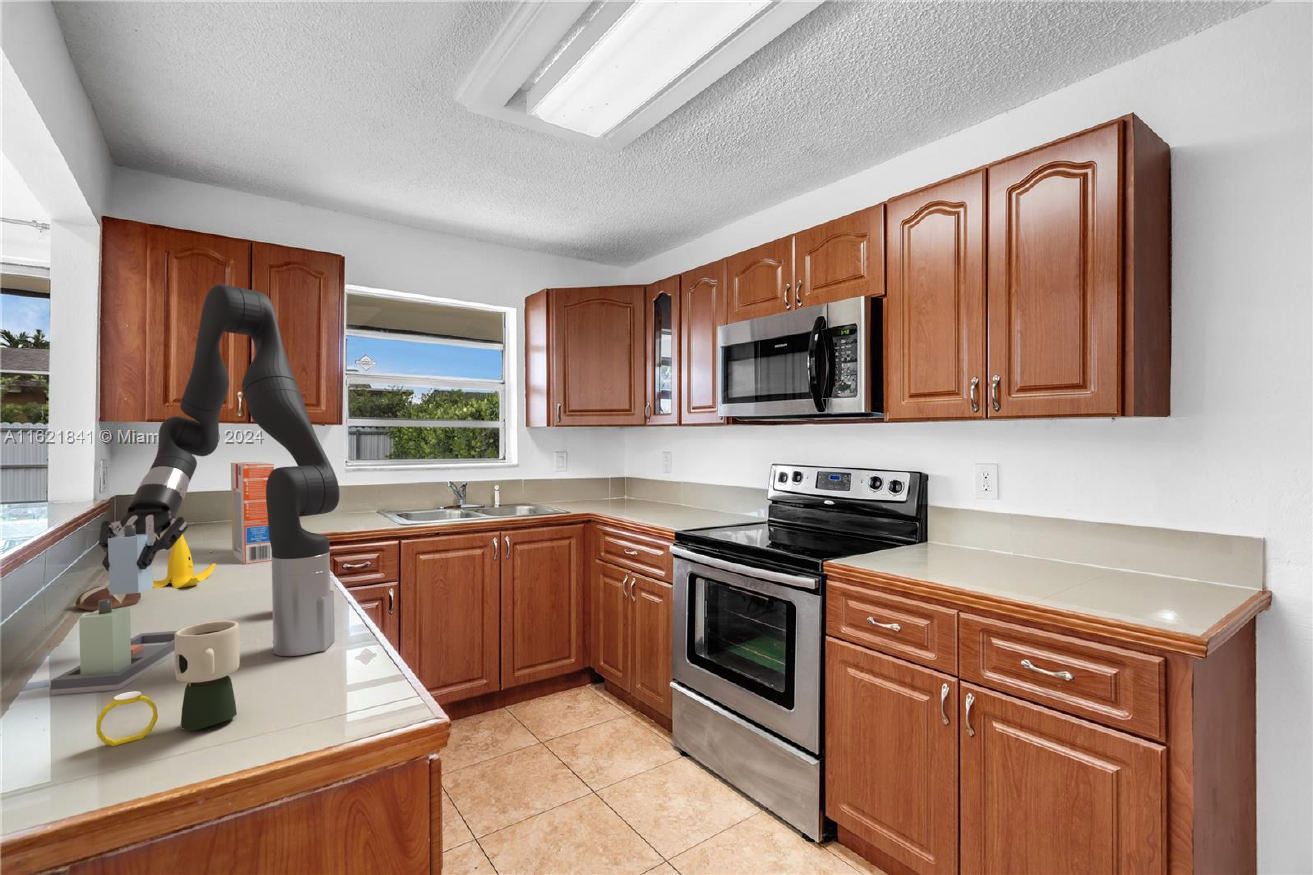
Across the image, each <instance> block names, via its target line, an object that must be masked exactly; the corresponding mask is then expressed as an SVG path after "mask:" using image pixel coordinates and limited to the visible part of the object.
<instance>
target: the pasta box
mask: <svg viewBox="0 0 1313 875" xmlns="http://www.w3.org/2000/svg"><path fill="white" fill-rule="evenodd" d="M274 469H275V465H274V463H269V462H263V461H250V462H249V461H248V462H246V461H245V462H230V484H231V486H230V487H231V488H230V490H231V493H230V494H231V539H232V541H231V542H232V547H231V548H232V555H233V556H234V557H235V558H237V560H239V561H240V562H241V563H242V564H244V565H253V564H259V563H268V562H272V549H271V544H270V540H269V530H268V515H267V504H266V484H267V479H268V477H269V475H270V473H271V472H272V471H273V470H274Z"/></svg>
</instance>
